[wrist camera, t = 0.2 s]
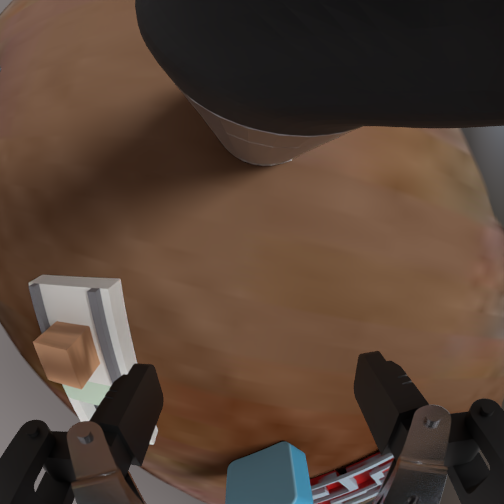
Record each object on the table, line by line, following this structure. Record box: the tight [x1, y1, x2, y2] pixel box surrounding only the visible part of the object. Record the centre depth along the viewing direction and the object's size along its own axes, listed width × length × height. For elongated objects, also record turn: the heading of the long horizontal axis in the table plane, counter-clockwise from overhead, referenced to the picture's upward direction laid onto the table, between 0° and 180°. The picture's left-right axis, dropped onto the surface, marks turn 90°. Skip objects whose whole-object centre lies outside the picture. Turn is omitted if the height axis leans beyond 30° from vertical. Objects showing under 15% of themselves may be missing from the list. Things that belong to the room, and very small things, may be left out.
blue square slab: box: [225, 442, 313, 504], centre depth 29 cm, size 12×4×12 cm, turn 129°
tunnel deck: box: [29, 275, 158, 445], centre depth 28 cm, size 24×12×4 cm, turn 0°
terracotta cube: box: [33, 321, 100, 389], centre depth 23 cm, size 5×5×5 cm
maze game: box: [310, 452, 394, 504], centre depth 38 cm, size 35×20×3 cm, turn 121°
